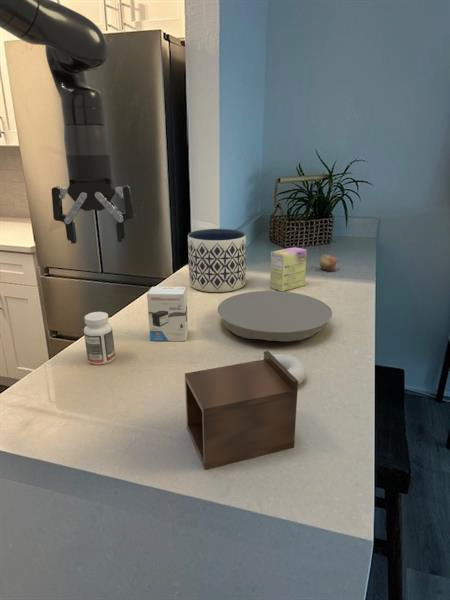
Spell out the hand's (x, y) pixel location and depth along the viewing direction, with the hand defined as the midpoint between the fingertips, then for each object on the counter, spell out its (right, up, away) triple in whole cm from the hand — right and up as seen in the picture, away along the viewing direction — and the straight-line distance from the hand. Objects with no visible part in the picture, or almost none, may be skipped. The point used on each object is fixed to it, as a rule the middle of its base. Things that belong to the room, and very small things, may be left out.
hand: (97, 242), depth 82 cm
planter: (+22, -6, +57) cm, 62 cm away
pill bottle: (-2, -24, +9) cm, 26 cm away
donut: (+35, -27, +1) cm, 44 cm away
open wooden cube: (+27, -32, -16) cm, 45 cm away
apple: (+61, -1, +72) cm, 94 cm away
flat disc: (+37, -18, +25) cm, 48 cm away
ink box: (+11, -20, +19) cm, 30 cm away
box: (+44, -7, +55) cm, 71 cm away
